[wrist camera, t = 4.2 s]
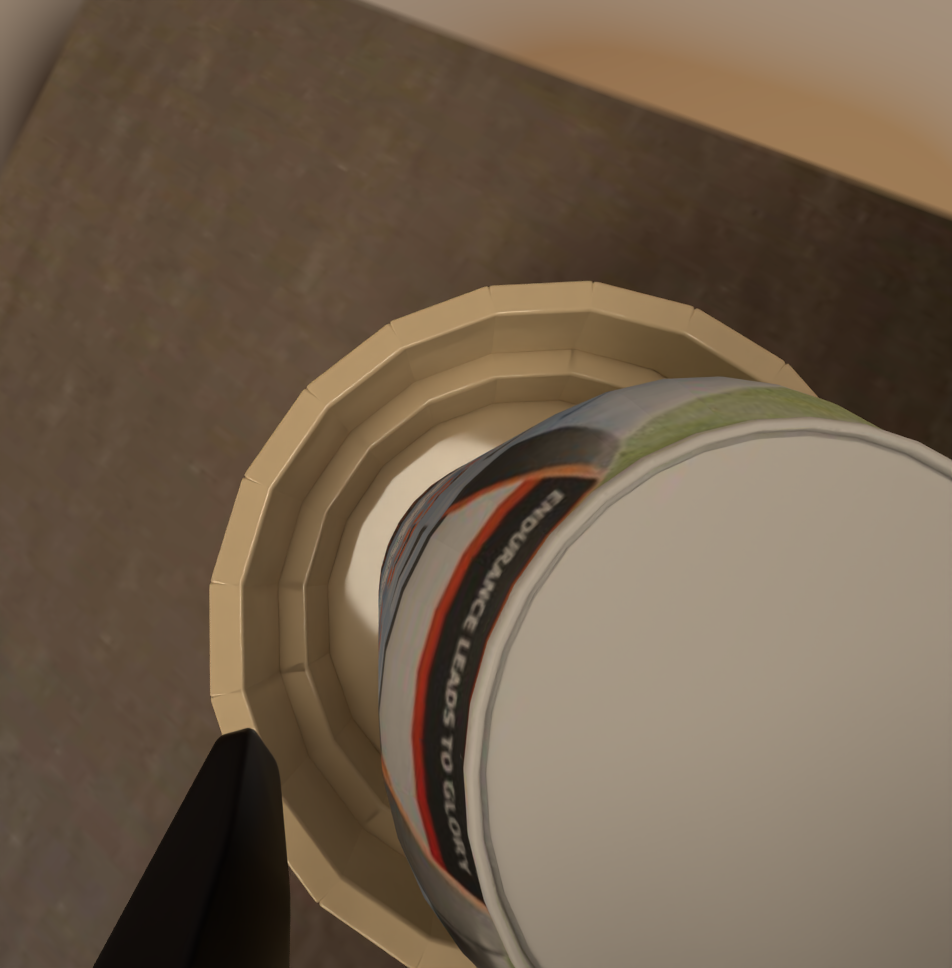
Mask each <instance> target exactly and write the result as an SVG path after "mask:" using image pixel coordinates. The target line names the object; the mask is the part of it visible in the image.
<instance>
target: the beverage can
mask: <svg viewBox="0 0 952 968" xmlns="http://www.w3.org/2000/svg"><path fill="white" fill-rule="evenodd" d="M378 716H379V732H380V748H381V764H382V776H383V780H384V784H385V788H386V792H387V796H388V800H389V804H390V808H391V813H392V817H393V821H394V825H395V829H396V833H397V837H398V840H399V842H400V844H401V847H402V849H403V851H404V853H405V856H406V858H407V860H408V862H409V865H410V867H411V869H412V871H413V874H414V876H415V878H416V880H417V883H418V885H419V887H420V889H421V892H422V894H423V896H424V898H425V900H426V901H427V903H428V904H429V905H430V907H431V908H432V910H433V911H434V913H435V914H436V916H437V917H438V918H439V920H440V921H441V923H442V924H443V926H444V927H445V929H446V930H447V932H448V933H449V934H450V936H451V937H452V939H453V940H454V942H455V943H456V945H457V946H458V947H459V949H460V950H461V952H462V953H463V954H464V955H465V956H466V957H467V958H468V959H469V960H470V961H471V962H472V963H473V964H474V965H475V966H476V967H477V968H952V460H951V459H949V458H947V457H945V456H943V455H942V454H940V453H938V452H936V451H934V450H933V449H931V448H929V447H927V446H925V445H923V444H922V443H920V442H918V441H915V440H912V439H909V438H906V437H903V436H900V435H897V434H894V433H891V432H888V431H885V430H882V429H881V428H879V427H877V426H875V425H873V424H871V423H870V422H868V421H866V420H864V419H862V418H860V417H859V416H857V415H855V414H853V413H851V412H849V411H848V410H846V409H844V408H842V407H840V406H838V405H837V404H834V403H832V402H829V401H826V400H823V399H820V398H817V397H814V396H811V395H808V394H805V393H802V392H799V391H796V390H793V389H790V388H787V387H784V386H781V385H777V384H771V383H764V382H757V381H749V380H742V379H735V378H728V377H696V378H673V379H661V380H657V381H652V382H648V383H644V384H639V385H635V386H631V387H626V388H622V389H618V390H613V391H609V392H605V393H603V394H601V395H598V396H596V397H594V398H592V399H589V400H587V401H585V402H582V403H580V404H578V405H575V406H573V407H571V408H568V409H566V410H564V411H562V412H559V413H557V414H555V415H553V416H551V417H549V418H547V419H546V420H544V421H542V422H540V423H538V424H537V425H535V426H533V427H531V428H529V429H528V430H526V431H524V432H522V433H521V434H519V435H517V436H515V437H513V438H512V439H510V440H508V441H506V442H504V443H503V444H501V445H499V446H497V447H495V448H494V449H492V450H490V451H488V452H486V453H485V454H483V455H481V456H479V457H477V458H476V459H474V460H472V461H470V462H468V463H467V464H465V465H463V466H461V467H459V468H458V469H456V470H454V471H452V472H450V473H449V474H447V475H446V476H444V477H443V478H441V479H440V480H438V481H437V482H435V483H434V484H432V485H431V486H430V487H429V488H428V489H427V490H426V491H425V492H424V493H423V494H422V495H420V496H419V497H418V498H417V499H416V500H415V501H414V502H413V504H412V505H411V506H410V508H409V509H408V510H407V512H406V513H405V514H404V516H403V517H402V518H401V520H400V521H399V523H398V525H397V527H396V529H395V531H394V533H393V535H392V537H391V539H390V541H389V543H388V546H387V549H386V553H385V556H384V560H383V563H382V566H381V574H380V583H379V592H378Z"/></svg>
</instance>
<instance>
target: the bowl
mask: <svg viewBox="0 0 952 968" xmlns="http://www.w3.org/2000/svg"><path fill="white" fill-rule="evenodd" d="M696 377H728V378H735V379H742V380H749V381H757V382H764V383H771V384H777V385H781V386H784V387H787V388H790V389H793V390H796V391H799V392H802V393H805V394H808V395H811V396H814V397H817V398H818V396H817V395H816V394H815V393H814V392H813V391H812V390H811V389H810V387H809V386H808V385H807V384H806V383H805V382H804V381H803V380H802V378H801V377H800V376H799V375H798V374H797V373H796V372H795V371H794V369H793V368H792V367H791V366H790V365H789V364H785V362H784V361H783V360H782V359H780V358H778V357H777V356H775V355H774V354H772V353H770V352H769V351H767V350H765V349H764V348H762V347H760V346H759V345H757V344H756V343H754V342H752V341H751V340H749V339H747V338H746V337H744V336H742V335H741V334H739V333H737V332H736V331H734V330H733V329H731V328H729V327H728V326H726V325H724V324H723V323H721V322H719V321H718V320H716V319H715V318H713V317H711V316H710V315H708V314H706V313H705V312H703V311H701V310H700V309H697V308H696V309H694V307H693V306H690V305H686V304H682V303H678V302H674V301H670V300H666V299H663V298H659V297H655V296H651V295H647V294H643V293H639V292H635V291H631V290H627V289H623V288H620V287H616V286H612V285H608V284H604V283H600V282H593V283H592V281H575V282H554V283H534V284H514V285H493V286H490V287H488V286H485V287H483V288H480V289H477V290H474V291H472V292H469V293H466V294H464V295H461V296H458V297H455V298H453V299H450V300H447V301H444V302H442V303H439V304H436V305H434V306H431V307H428V308H425V309H423V310H420V311H417V312H414V313H412V314H409V315H406V316H404V317H401V318H398V319H395V320H393V321H391V322H390V324H387V325H385V326H384V327H382V328H381V329H380V330H379V331H377V332H376V333H375V334H373V335H372V336H371V337H369V338H368V339H367V340H366V341H364V342H363V343H362V344H360V345H359V346H358V347H357V348H355V349H354V350H353V351H351V352H350V353H349V354H347V355H346V356H345V357H344V358H342V359H341V360H340V361H338V362H337V363H336V364H334V365H333V366H332V367H331V368H329V369H328V370H327V371H325V372H324V373H323V374H321V375H320V376H319V377H318V378H316V379H315V380H314V381H312V382H311V383H310V384H308V386H307V389H304V390H303V391H302V392H301V394H300V395H299V397H298V398H297V399H296V401H295V402H294V404H293V405H292V407H291V408H290V409H289V411H288V412H287V414H286V415H285V417H284V418H283V420H282V421H281V422H280V424H279V425H278V427H277V428H276V430H275V431H274V432H273V434H272V435H271V437H270V438H269V440H268V441H267V442H266V444H265V445H264V447H263V448H262V450H261V451H260V453H259V454H258V455H257V457H256V458H255V460H254V461H253V463H252V464H251V465H250V467H249V468H248V470H247V471H246V473H245V477H246V478H243V479H242V481H241V484H240V487H239V491H238V494H237V497H236V500H235V503H234V507H233V510H232V513H231V516H230V519H229V523H228V526H227V529H226V532H225V536H224V539H223V542H222V545H221V548H220V552H219V555H218V558H217V561H216V564H215V568H214V571H213V574H212V577H211V582H212V583H211V584H210V586H209V590H210V695H211V696H212V698H211V702H212V705H213V708H214V711H215V714H216V717H217V720H218V723H219V726H220V729H221V732H222V735H224V734H227V733H230V732H234V731H237V730H241V729H245V728H251V729H254V730H255V731H256V732H257V734H258V735H259V736H260V738H261V739H262V741H263V742H264V744H265V745H266V747H267V748H268V749H269V751H270V752H271V754H272V755H273V757H274V758H275V760H276V762H277V765H278V768H279V773H280V780H281V791H282V803H283V814H284V826H285V837H286V849H287V860H288V865H289V866H290V868H291V869H292V870H293V872H294V873H295V875H296V876H297V877H298V879H299V880H300V881H301V883H302V884H303V885H304V887H305V888H306V889H307V891H308V892H309V894H310V895H311V896H312V898H313V899H314V900H315V902H319V904H320V905H321V907H323V908H324V909H326V910H327V911H328V912H330V913H331V914H333V915H334V916H336V917H337V918H338V919H340V920H341V921H343V922H344V923H346V924H347V925H348V926H350V927H351V928H353V929H354V930H356V931H357V932H358V933H360V934H361V935H363V936H364V937H366V938H367V939H368V940H370V941H371V942H373V943H374V944H376V945H377V946H378V947H380V948H381V949H383V950H384V951H386V952H387V953H388V954H390V955H391V956H393V957H394V958H396V959H397V960H398V961H400V962H401V963H403V964H404V965H406V966H407V967H408V968H477V967H476V966H475V965H474V964H473V963H472V962H471V961H470V960H469V959H468V958H467V957H466V956H465V955H464V954H463V953H462V952H461V950H460V949H459V947H458V946H457V945H456V943H455V942H454V940H453V939H452V937H451V936H450V934H449V933H448V932H447V930H446V929H445V927H444V926H443V924H442V923H441V921H440V920H439V918H438V917H437V916H436V914H435V913H434V911H433V910H432V908H431V907H430V905H429V904H428V903H427V901H426V900H425V898H424V896H423V894H422V892H421V889H420V887H419V885H418V883H417V880H416V878H415V876H414V874H413V871H412V869H411V867H410V865H409V862H408V860H407V858H406V856H405V853H404V851H403V849H402V847H401V844H400V842H399V840H398V837H397V833H396V829H395V825H394V821H393V817H392V813H391V808H390V804H389V800H388V796H387V792H386V788H385V784H384V780H383V776H382V764H381V748H380V732H379V716H378V592H379V583H380V574H381V566H382V563H383V560H384V556H385V553H386V549H387V546H388V543H389V541H390V539H391V537H392V535H393V533H394V531H395V529H396V527H397V525H398V523H399V521H400V520H401V518H402V517H403V516H404V514H405V513H406V512H407V510H408V509H409V508H410V506H411V505H412V504H413V502H414V501H415V500H416V499H417V498H418V497H419V496H420V495H422V494H423V493H424V492H425V491H426V490H427V489H428V488H429V487H430V486H431V485H432V484H434V483H435V482H437V481H438V480H440V479H441V478H443V477H444V476H446V475H447V474H449V473H450V472H452V471H454V470H456V469H458V468H459V467H461V466H463V465H465V464H467V463H468V462H470V461H472V460H474V459H476V458H477V457H479V456H481V455H483V454H485V453H486V452H488V451H490V450H492V449H494V448H495V447H497V446H499V445H501V444H503V443H504V442H506V441H508V440H510V439H512V438H513V437H515V436H517V435H519V434H521V433H522V432H524V431H526V430H528V429H529V428H531V427H533V426H535V425H537V424H538V423H540V422H542V421H544V420H546V419H547V418H549V417H551V416H553V415H555V414H557V413H559V412H562V411H564V410H566V409H568V408H571V407H573V406H575V405H578V404H580V403H582V402H585V401H587V400H589V399H592V398H594V397H596V396H598V395H601V394H603V393H605V392H609V391H613V390H618V389H622V388H626V387H631V386H635V385H639V384H644V383H648V382H652V381H657V380H661V379H673V378H696Z"/></svg>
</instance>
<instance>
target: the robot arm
mask: <svg viewBox="0 0 952 968" xmlns="http://www.w3.org/2000/svg"><path fill="white" fill-rule="evenodd" d="M289 955H290V885H289V871H288V860H287V849H286V837H285V826H284V814H283V803H282V791H281V780H280V773H279V768H278V765H277V762H276V760H275V758H274V757H273V755H272V754H271V752H270V751H269V749H268V748H267V747H266V745H265V744H264V742H263V741H262V739H261V738H260V736H259V735H258V734H257V732H256V731H255V730H254V729H251V728H245V729H241V730H237V731H234V732H230V733H227V734H224V735H222V736H221V737H219V738H218V739H217V741H216V742H215V744H214V745H213V747H212V749H211V751H210V753H209V755H208V756H207V758H206V760H205V762H204V764H203V766H202V767H201V769H200V771H199V773H198V775H197V777H196V778H195V780H194V782H193V784H192V786H191V788H190V789H189V791H188V793H187V795H186V797H185V799H184V801H183V802H182V804H181V806H180V808H179V810H178V812H177V813H176V815H175V817H174V819H173V821H172V823H171V824H170V826H169V828H168V830H167V832H166V834H165V835H164V837H163V839H162V841H161V843H160V845H159V847H158V848H157V850H156V852H155V854H154V856H153V858H152V859H151V861H150V863H149V865H148V867H147V869H146V870H145V872H144V874H143V876H142V878H141V880H140V881H139V883H138V885H137V887H136V889H135V891H134V892H133V894H132V896H131V898H130V900H129V902H128V904H127V905H126V907H125V909H124V911H123V913H122V915H121V916H120V918H119V920H118V922H117V924H116V926H115V927H114V929H113V931H112V933H111V935H110V937H109V938H108V940H107V942H106V944H105V946H104V948H103V950H102V951H101V953H100V955H99V957H98V959H97V961H96V962H95V964H94V966H93V968H289Z"/></svg>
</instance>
